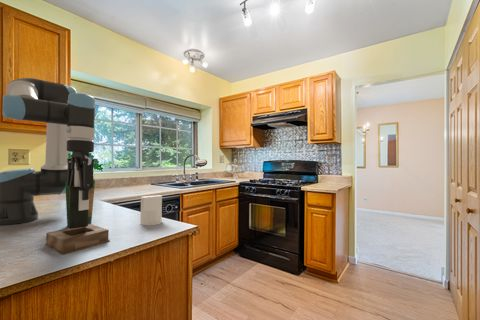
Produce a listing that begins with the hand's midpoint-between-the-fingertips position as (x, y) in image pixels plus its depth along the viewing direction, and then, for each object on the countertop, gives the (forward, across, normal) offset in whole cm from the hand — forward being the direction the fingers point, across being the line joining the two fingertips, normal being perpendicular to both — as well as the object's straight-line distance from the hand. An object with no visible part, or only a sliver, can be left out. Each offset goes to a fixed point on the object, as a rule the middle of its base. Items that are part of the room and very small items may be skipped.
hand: (79, 208), depth 75 cm
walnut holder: (+12, 0, 0) cm, 12 cm away
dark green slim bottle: (+6, 0, 0) cm, 6 cm away
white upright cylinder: (+12, -2, +30) cm, 32 cm away
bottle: (+12, -23, +10) cm, 28 cm away
